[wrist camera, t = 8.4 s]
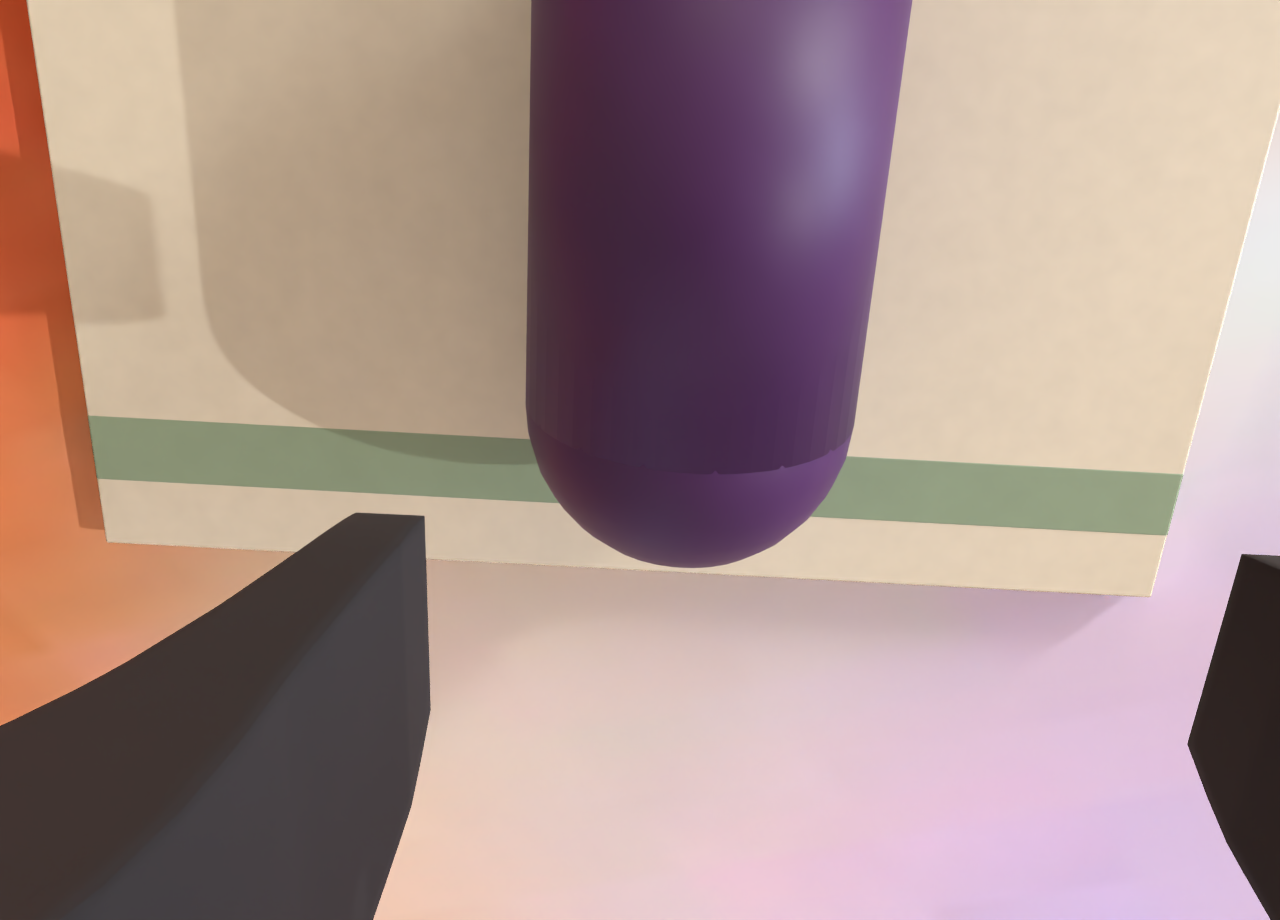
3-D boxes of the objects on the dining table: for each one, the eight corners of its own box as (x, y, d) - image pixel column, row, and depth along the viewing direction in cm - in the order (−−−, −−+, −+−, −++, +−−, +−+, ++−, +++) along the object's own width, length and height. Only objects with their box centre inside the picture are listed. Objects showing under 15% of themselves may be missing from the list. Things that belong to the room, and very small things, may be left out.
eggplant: (763, 471, 21) (890, 610, 17) (496, 493, 19) (564, 651, 15) (850, -360, 16) (1061, -444, 12) (500, -407, 14) (602, -519, 10)
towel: (115, 532, 21) (105, 543, 21) (-26, -449, 15) (-44, -458, 15) (1142, 586, 21) (1151, 599, 21) (1390, -364, 15) (1409, -371, 15)
